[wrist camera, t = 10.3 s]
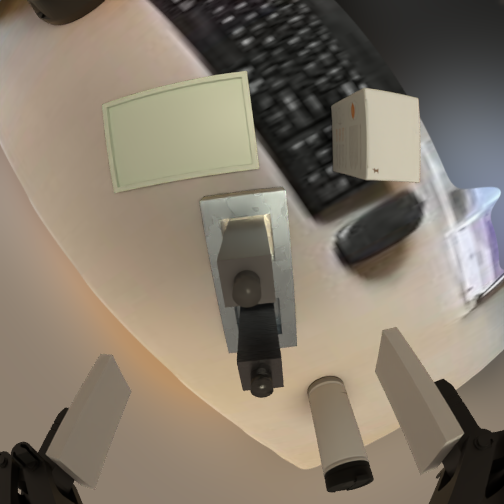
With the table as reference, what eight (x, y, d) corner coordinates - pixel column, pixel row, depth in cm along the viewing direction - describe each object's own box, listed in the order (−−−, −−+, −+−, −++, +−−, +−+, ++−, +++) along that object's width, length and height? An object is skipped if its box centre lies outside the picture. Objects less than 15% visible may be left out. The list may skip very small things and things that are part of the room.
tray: (106, 105, 28) (101, 104, 27) (246, 73, 27) (246, 71, 26) (118, 191, 31) (114, 193, 30) (258, 168, 31) (259, 168, 30)
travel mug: (349, 374, 42) (385, 475, 23) (335, 400, 44) (360, 494, 25) (315, 373, 41) (341, 482, 23) (302, 399, 44) (319, 500, 25)
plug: (228, 220, 32) (213, 272, 19) (263, 216, 32) (273, 265, 19) (233, 253, 33) (223, 321, 20) (267, 250, 33) (278, 315, 20)
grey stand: (203, 196, 32) (168, 233, 18) (282, 186, 32) (307, 216, 18) (230, 339, 39) (222, 423, 25) (294, 332, 38) (311, 415, 25)
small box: (374, 173, 31) (421, 185, 21) (331, 171, 31) (366, 182, 21) (373, 108, 28) (420, 97, 18) (329, 104, 28) (364, 86, 18)
